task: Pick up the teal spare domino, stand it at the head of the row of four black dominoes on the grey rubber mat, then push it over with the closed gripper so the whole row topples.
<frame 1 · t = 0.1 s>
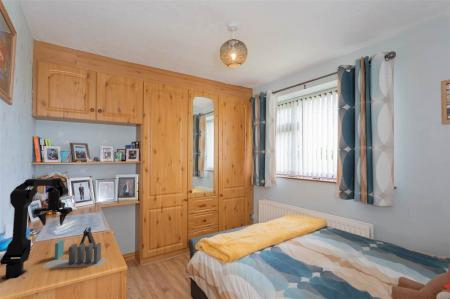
hand: (52, 225, 136), 15 cm above the table, fingers open, 9 cm apart
mat: (75, 263, 120), on the table
phone stand: (86, 248, 139), on the table
domino 4: (89, 262, 121), resting on mat
spare domino: (58, 258, 126), on the table
domino 3: (80, 262, 121), resting on mat
domino 2: (72, 262, 120), resting on mat
domino 5: (97, 261, 122), resting on mat
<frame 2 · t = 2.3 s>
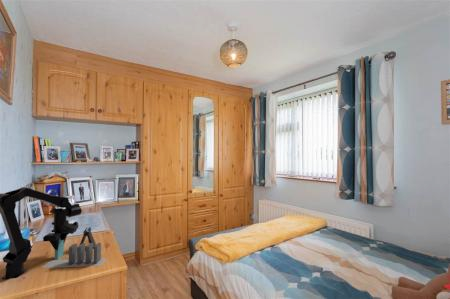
hand: (59, 248, 126), 5 cm above the table, fingers closed on spare domino, 5 cm apart
spare domino: (59, 258, 126), on the table, touching gripper
everything else where it was.
when the fingers open (6 cm above the table, at t = 5.2 s): spare domino stays where it is, resting on mat.
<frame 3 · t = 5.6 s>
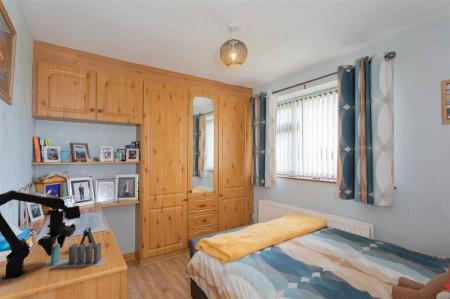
hand: (55, 251, 119), 6 cm above the table, fingers open, 9 cm apart
spare domino: (55, 263, 119), resting on mat
everything else where it was.
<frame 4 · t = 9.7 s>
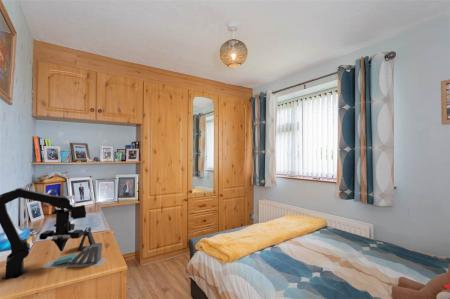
hand: (61, 250, 120), 7 cm above the table, fingers closed
domino 4: (89, 261, 121), point 1 cm above the table, tilted 19°, touching mat
spare domino: (56, 261, 119), point 1 cm above the table, tilted 75°, touching mat
domino 3: (81, 261, 121), point 1 cm above the table, tilted 33°
domino 2: (73, 261, 120), point 1 cm above the table, tilted 43°, touching mat
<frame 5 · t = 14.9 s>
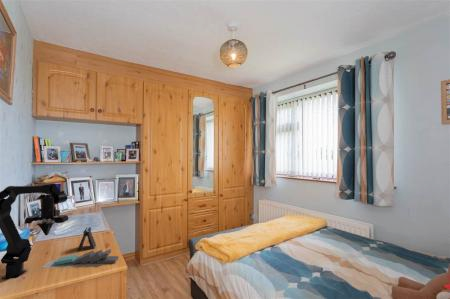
hand: (46, 235, 124), 13 cm above the table, fingers closed
domino 4: (92, 259, 122), point 1 cm above the table, tilted 65°, touching domino 3, domino 5
spare domino: (56, 261, 119), point 1 cm above the table, tilted 79°, touching domino 2, mat
domino 3: (83, 260, 121), point 1 cm above the table, tilted 65°, touching domino 2, domino 4, mat
domino 2: (74, 261, 120), point 1 cm above the table, tilted 66°, touching domino 3, mat, spare domino
domino 5: (98, 260, 122), point 1 cm above the table, tilted 90°, touching domino 4, mat
everything else where it was.
at the end: domino 5 tilted 90°; spare domino inside the target area (0.1 cm from its centre), point 1.2 cm above the table; spare domino tilted 79° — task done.
